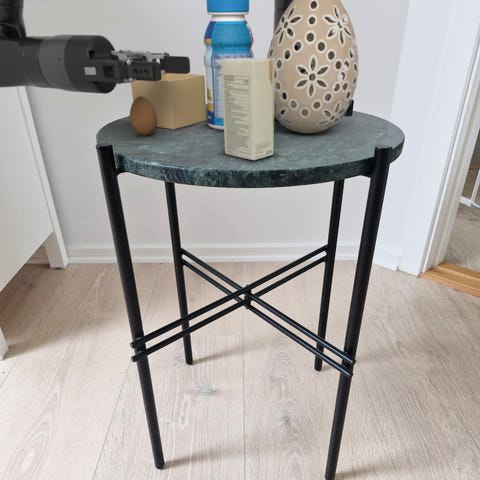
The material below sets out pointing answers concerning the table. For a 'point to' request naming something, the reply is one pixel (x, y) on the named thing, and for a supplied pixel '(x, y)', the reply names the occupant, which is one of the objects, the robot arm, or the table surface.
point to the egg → (143, 116)
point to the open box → (174, 98)
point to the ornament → (313, 51)
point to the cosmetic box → (248, 107)
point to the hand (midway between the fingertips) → (175, 68)
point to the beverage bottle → (224, 49)
